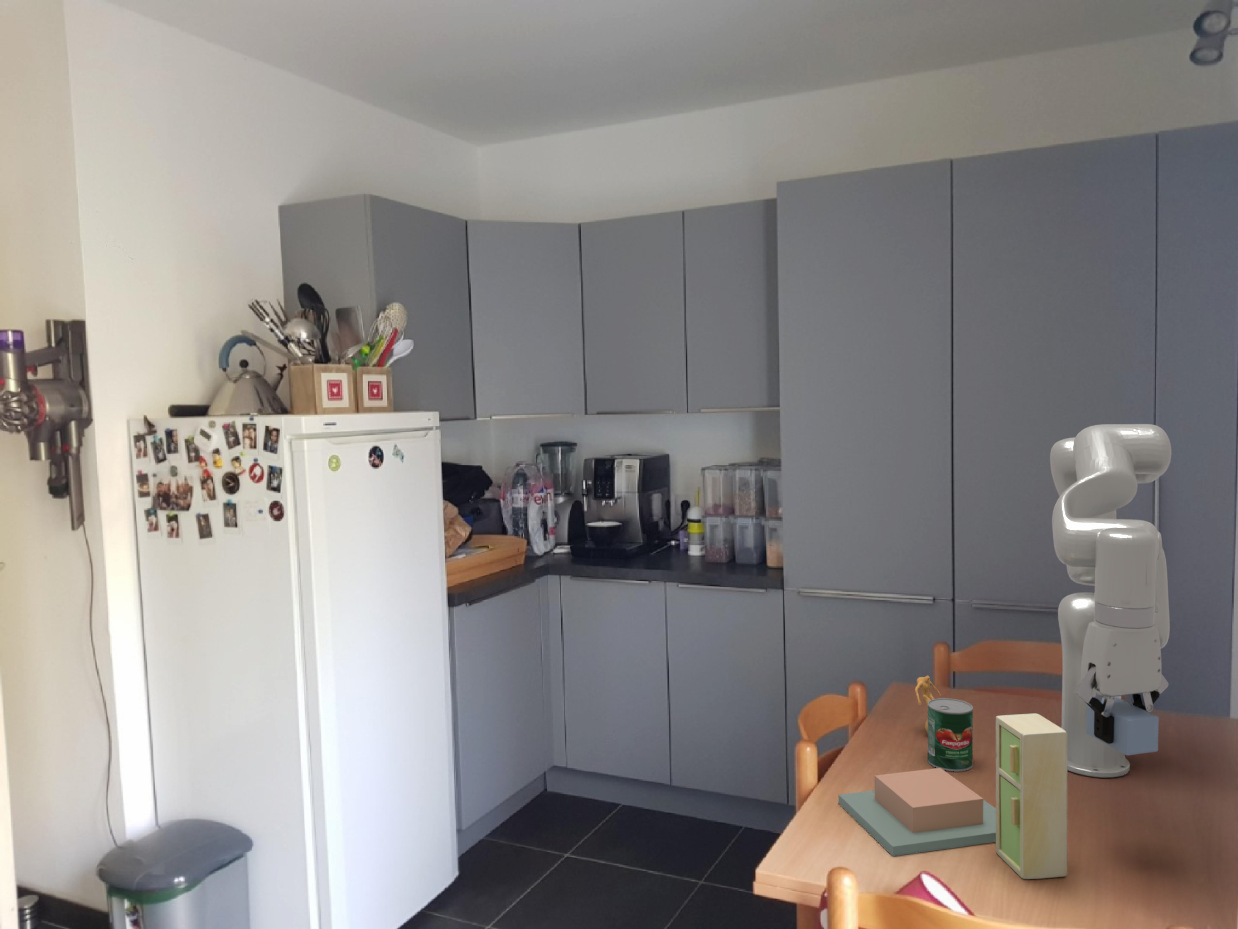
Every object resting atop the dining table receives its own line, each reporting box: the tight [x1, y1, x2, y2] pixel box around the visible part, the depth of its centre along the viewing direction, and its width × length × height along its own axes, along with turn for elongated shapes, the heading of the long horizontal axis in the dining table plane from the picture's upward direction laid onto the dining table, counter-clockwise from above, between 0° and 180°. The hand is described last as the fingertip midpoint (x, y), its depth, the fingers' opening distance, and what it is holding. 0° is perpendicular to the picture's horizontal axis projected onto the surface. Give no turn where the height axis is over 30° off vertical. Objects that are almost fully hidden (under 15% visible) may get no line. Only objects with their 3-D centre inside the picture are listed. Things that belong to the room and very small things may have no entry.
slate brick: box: [1086, 697, 1160, 756], centre depth 130 cm, size 5×8×5 cm, turn 12°
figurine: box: [914, 675, 942, 733], centre depth 179 cm, size 8×6×12 cm
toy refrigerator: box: [995, 712, 1068, 880], centre depth 130 cm, size 8×7×21 cm
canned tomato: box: [927, 697, 974, 772], centre depth 166 cm, size 8×8×11 cm
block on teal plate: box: [838, 767, 996, 857], centre depth 144 cm, size 22×18×6 cm
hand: (1120, 736), depth 130 cm, fingers closed on slate brick, 4 cm apart
